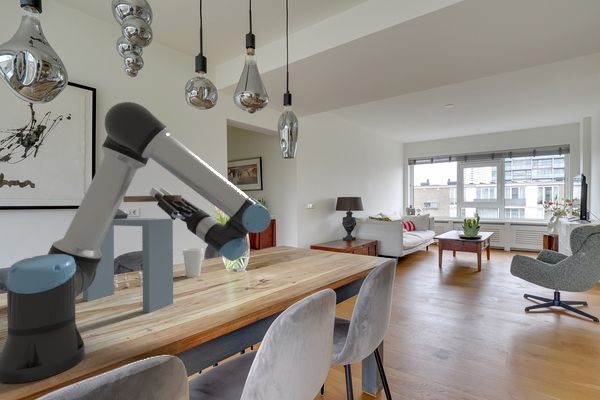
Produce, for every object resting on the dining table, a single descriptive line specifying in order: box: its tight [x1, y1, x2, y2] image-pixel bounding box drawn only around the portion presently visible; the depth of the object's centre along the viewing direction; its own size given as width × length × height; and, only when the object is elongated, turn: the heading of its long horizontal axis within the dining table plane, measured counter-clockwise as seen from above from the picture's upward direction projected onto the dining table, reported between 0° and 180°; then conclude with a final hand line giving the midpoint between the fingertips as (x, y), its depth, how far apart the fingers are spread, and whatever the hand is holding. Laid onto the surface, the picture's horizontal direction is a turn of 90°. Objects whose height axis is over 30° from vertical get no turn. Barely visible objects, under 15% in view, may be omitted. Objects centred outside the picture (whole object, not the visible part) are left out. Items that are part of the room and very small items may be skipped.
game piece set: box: [114, 271, 143, 289], centre depth 142 cm, size 19×20×4 cm
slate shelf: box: [82, 217, 174, 313], centre depth 114 cm, size 10×34×30 cm, turn 66°
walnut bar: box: [122, 194, 182, 203], centre depth 109 cm, size 3×24×2 cm, turn 67°
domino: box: [114, 208, 129, 219], centre depth 117 cm, size 5×2×10 cm
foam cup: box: [182, 247, 204, 278], centre depth 154 cm, size 10×9×13 cm
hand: (156, 190), depth 108 cm, fingers closed on walnut bar, 3 cm apart
